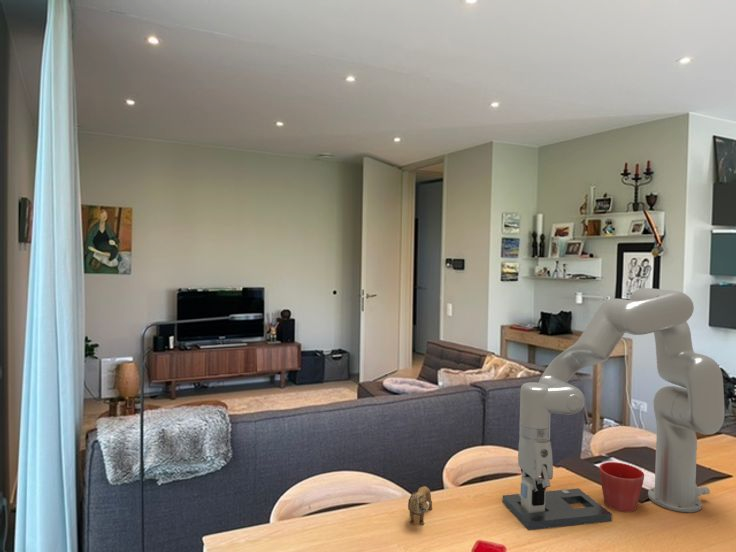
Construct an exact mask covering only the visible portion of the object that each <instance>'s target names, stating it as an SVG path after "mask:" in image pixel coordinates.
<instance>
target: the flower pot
mask: <svg viewBox="0 0 736 552" xmlns="http://www.w3.org/2000/svg"><path fill="white" fill-rule="evenodd" d="M598 468H599V469H598V470H599V475H600V484H601V489H602V495H603V499H604V503H605V505H606V506H607V507H609V508H610V509H611V510H612V509H613V510H615V511H618V512H622V513H623V512H624V513H626V512H627V513H630V512H633V511H636V509H637V507H638V503H639V500H640V496H641V494H642V493H641V492H642V488H643V484H644V480H645V474H644V472H643V470H641V469H640V468H638V467H635V466H632V465H631V464H627V463H622V462H616V461H614V462H613V461H610V462H609V461H608V462H603V463H601V464H600V465H599V467H598Z"/></svg>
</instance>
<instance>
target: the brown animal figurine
mask: <svg viewBox="0 0 736 552" xmlns="http://www.w3.org/2000/svg"><path fill="white" fill-rule="evenodd" d="M431 493H432V492H431V490H430V488H429V487H428V486H426V485H425V486H420V487H419V488H418V490H417V491H415V492H412V494H411V495H410V497H409V499H408V504H407V509H408V511H409V517H410V520H409V521H408V523H410V524H409V525H412V524H413V525H414V524H415V517H417V516H419V520H418V522H419V525H420V526H424V524H425V522H424V516H425V512H426V511H427V509H428V510H431V509H432V510H433V501H432V494H431ZM414 516H415V517H414Z"/></svg>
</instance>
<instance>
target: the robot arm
mask: <svg viewBox="0 0 736 552" xmlns="http://www.w3.org/2000/svg"><path fill="white" fill-rule="evenodd" d="M694 307H695V305H694V301H693V300H692V298H691V297H690V296H689V295H688V294H687V293H684V292H681V291H678V290H671V289H670V290H669V289H661V288H651V287H645V288H638V289H636V290H634V291H633V292H632V293H631V294H630V298H629V299H625V298H608V299H605V301H603V302H602V303H601V304H600V306H599V307H598V309H597V310H596V312H595V313H594V314H593V316H592V318H591V319H590V321H589V323H588V324H587V326H586V327H585V329H584V330H583V332H582V333H581V335H580V336H579V337H578V339H577V341H575V343H574V344H572V345H571V346H569V347H567V348H566V349H565V350H563V351H562V352H560V354H558V355H557V356H555V358H553V359H552V361H551V362H550V363H549V364H548V366H547V367H546V368H545V370H544V371H543V373H542V375H541V376H540V378H539V380H538V382H536V381H535V382H533V381H532V382H524V383H523V384H522V385H521V386H520V392H519V434H518V435H519V438H518V439H519V440H518V450H517V461H518V462H517V464H518V467H519V468H520V472H521V477H532V478H533V486H534V490H532V505H533V506H540V505H544V494H545V491H547V488H550V487H551V481H550V480H552V479H553V478H554V477H553V476H554V465H553V463H554V461H553V450H552V449H553V448H552V443H551V414H559V415H567V416H568V415H569V416H570V415H576V414H578V413H580V412H581V411H582V410H583V409H584V407H585V404H586V398H585V395H584V393H583V391H581V390H580V389H579V388H578V387H576V386H574V385H572V384H570V383H569V381H570V379H571V378H572V377H573V376H574V375H575V374H576V373H577V372H579V371H580V370H582V369H585V368H587V367H590V366H594V365H598V364H599V365H600V364H602V363H604V362H606V361H608V359H609V358H610V356H611V355H612V354H613V352H614V350H615V349H616V347H617V345H618V344H619V342H620V341H621V339H622V338H623V336H624V335H625V334H628V335H633V336H641V335H642V336H643V335H648V334H652V333H653V334H654V342H655V353H656V354H655V355H656V367H657V368H656V369H657V373H658V375H659V377H660V378H661V379H662V380H664V381H666V382H668V383H669V384H672V385H667V386H664V387H662V388H660V389H659V390H657V392H655V395H654V398H653V403H652V404H653V411H654V416H655V424H656V440H655V441H656V442H655V465H654V466H655V468H654V469H655V471H654V472H655V473H654V487H651V488H649V489H648V491H647V492H648V493H647V496H648V497H647V498H649V500H650V501H652V502H653V503H654V504H656V505H658V506H659V507H662V508H665V509H668V510H670V511H675V512H681V513H697V512H698V511H700V510H702V504H703V503H702V501H701V500H700V499H699V497H701V495H702V496H704V495H710V493H711V491H710V488H709V487H708V486H700V487H698V485H697V484H696V477H697V454H698V453H697V450H698V439H697V433H698V434H701V435H714V434H715V433H718V432H719V431H720V429H722V427H723V424H724V423H725V422H724V421H725V414H726V412H725V411H726V410H725V394H724V378H723V372H722V369H721V367H720V365H719V364H718V363H717V362H716V361H715V359H713V358H712V357H709V356H708V355H704V354H701V353H698V352H695V351H694V348H693V341H692V333H691V328H690V325H689V323H688V321H689V319H691V317H692V316H693V313H694ZM674 385H676V386H674ZM537 481H541V483H539V484H537Z"/></svg>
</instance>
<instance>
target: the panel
mask: <svg viewBox="0 0 736 552" xmlns="http://www.w3.org/2000/svg"><path fill="white" fill-rule="evenodd" d="M502 504H503V505H504V507H506V508H507V509H508V510H509V511H510V512H511V513H512V515H514V516H515V518H516V519H517V520H518V522H520V523H521V524H522V525H523V526H524V527H525V528H526V529H527V530H528V531H532V530H534V531H535V530H543V529H553V528H561V527H570V526H571V527H572V526H580V525H589V524H599V522H600V523H608V522H612V520H613V514H612V512H610V510H608V509H607V508H605V507H604V506H603V505H601V504H600V503H599V502H597V500H595V499H593V498H592V497H591V496H590V495H588V494H587V493H586V492H584V490H583V491H582V490H581V489H580V488H568V489H560V490H559V489H558V490H546V491H545V512H536V513H527V512H526V511H525V510H524V509H523V508H522V507H521V493H515V494H504V495H503V494H502ZM572 504H581V505H582V506H584V507H577V508H574V507H573V506H572Z"/></svg>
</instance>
